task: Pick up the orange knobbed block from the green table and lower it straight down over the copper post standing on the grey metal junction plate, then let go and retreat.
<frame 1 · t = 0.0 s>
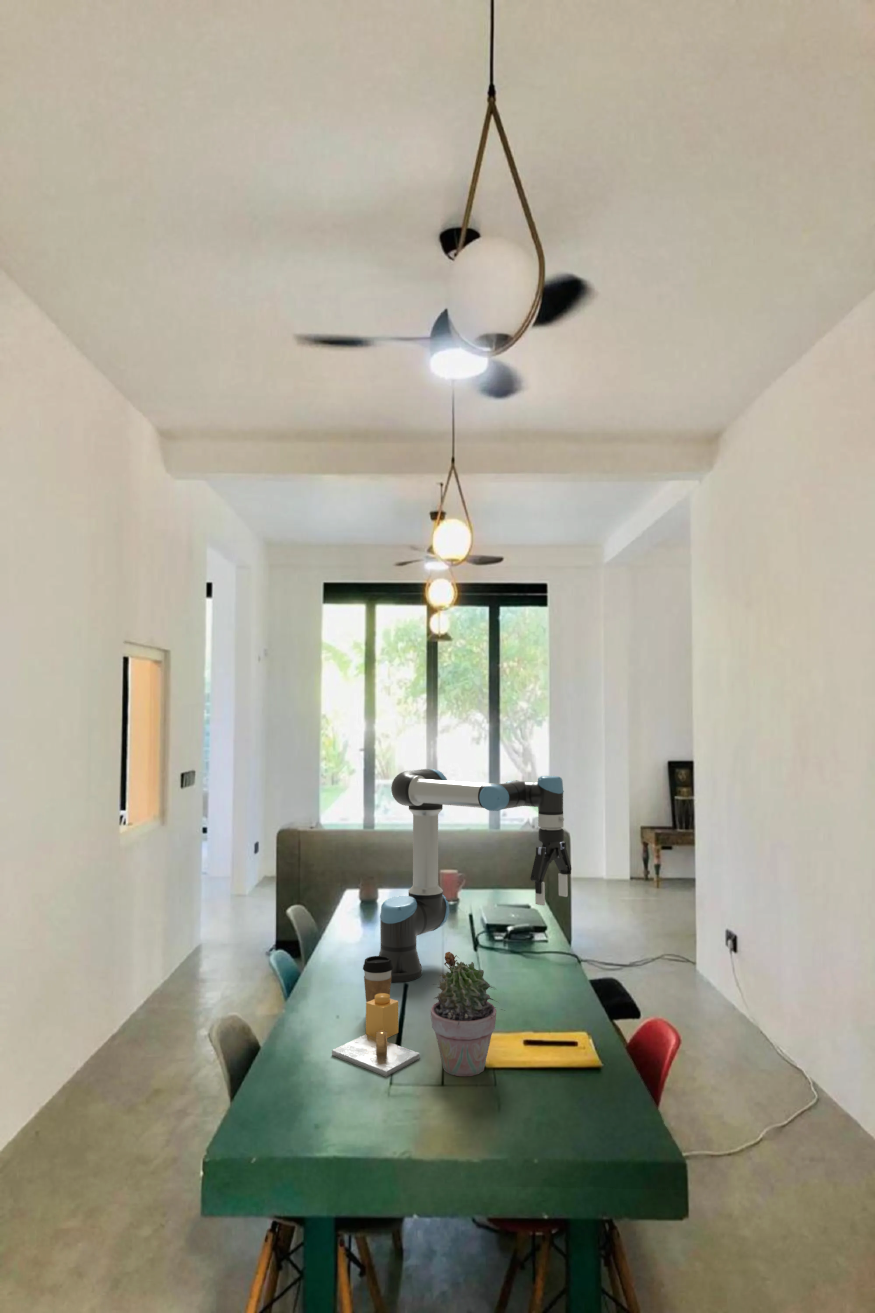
hand: (551, 900, 225), 28 cm above the table, fingers open, 13 cm apart
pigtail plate: (375, 1056, 184), on the table
orange knobbed block: (382, 1033, 197), on the table
potted plant: (467, 1069, 178), on the table
coffee cup: (377, 1014, 210), on the table
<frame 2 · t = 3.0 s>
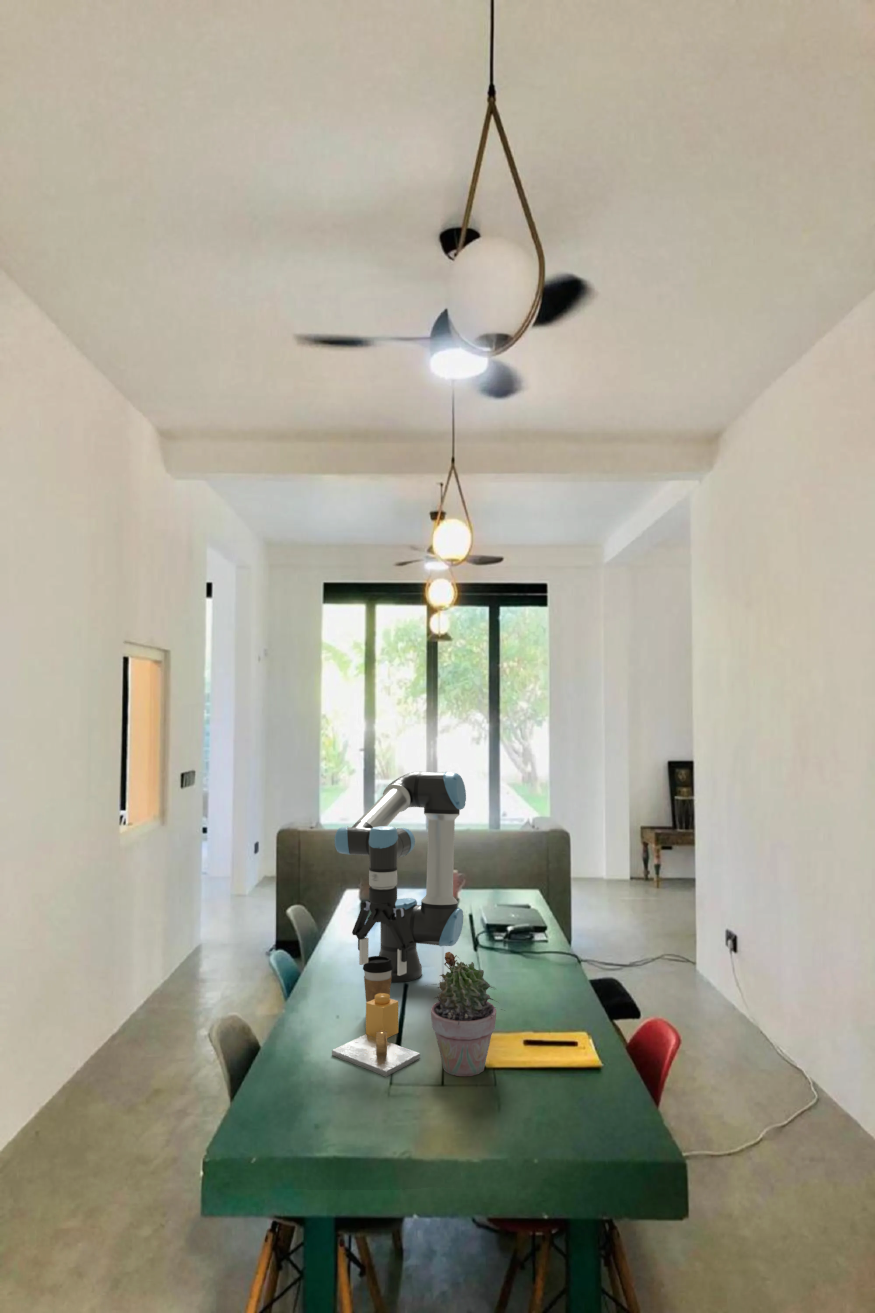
hand: (382, 969, 198), 16 cm above the table, fingers open, 13 cm apart
nothing on the table moved.
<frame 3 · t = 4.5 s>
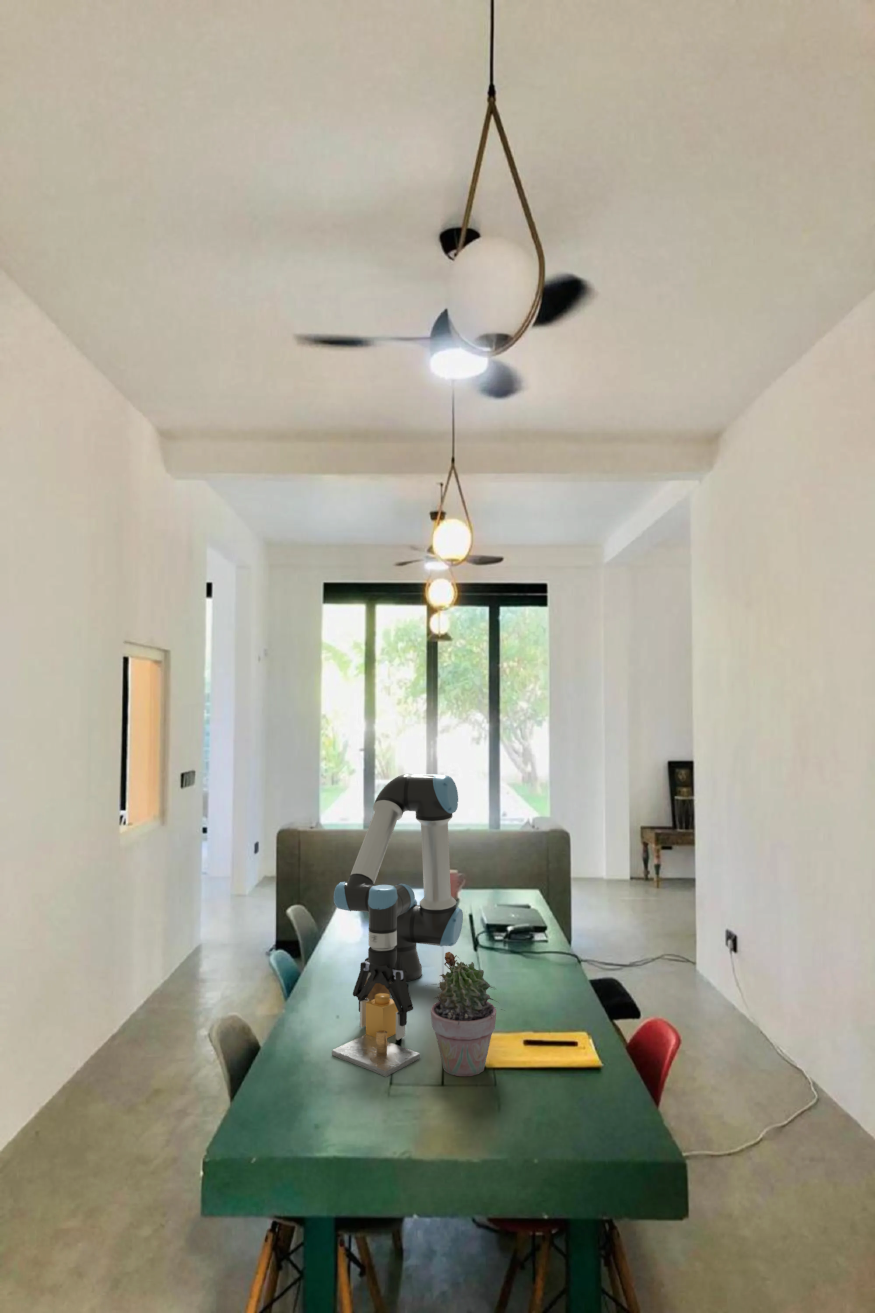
hand: (382, 1031, 197), 0 cm above the table, fingers open, 12 cm apart
nothing on the table moved.
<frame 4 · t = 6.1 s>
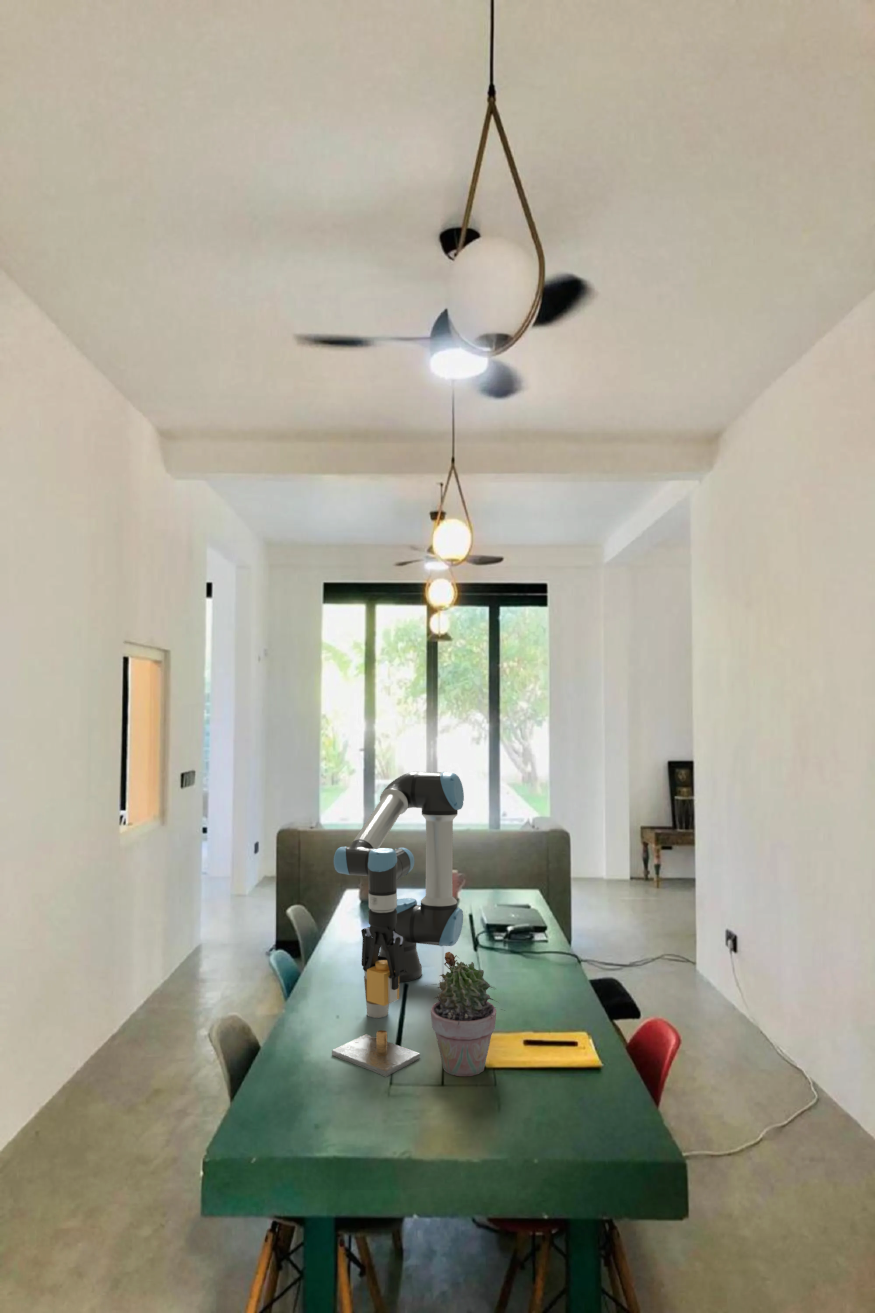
hand: (383, 998, 198), 9 cm above the table, fingers closed on orange knobbed block, 6 cm apart
orange knobbed block: (383, 999, 198), point 8 cm above the table, touching gripper
everything else where it was.
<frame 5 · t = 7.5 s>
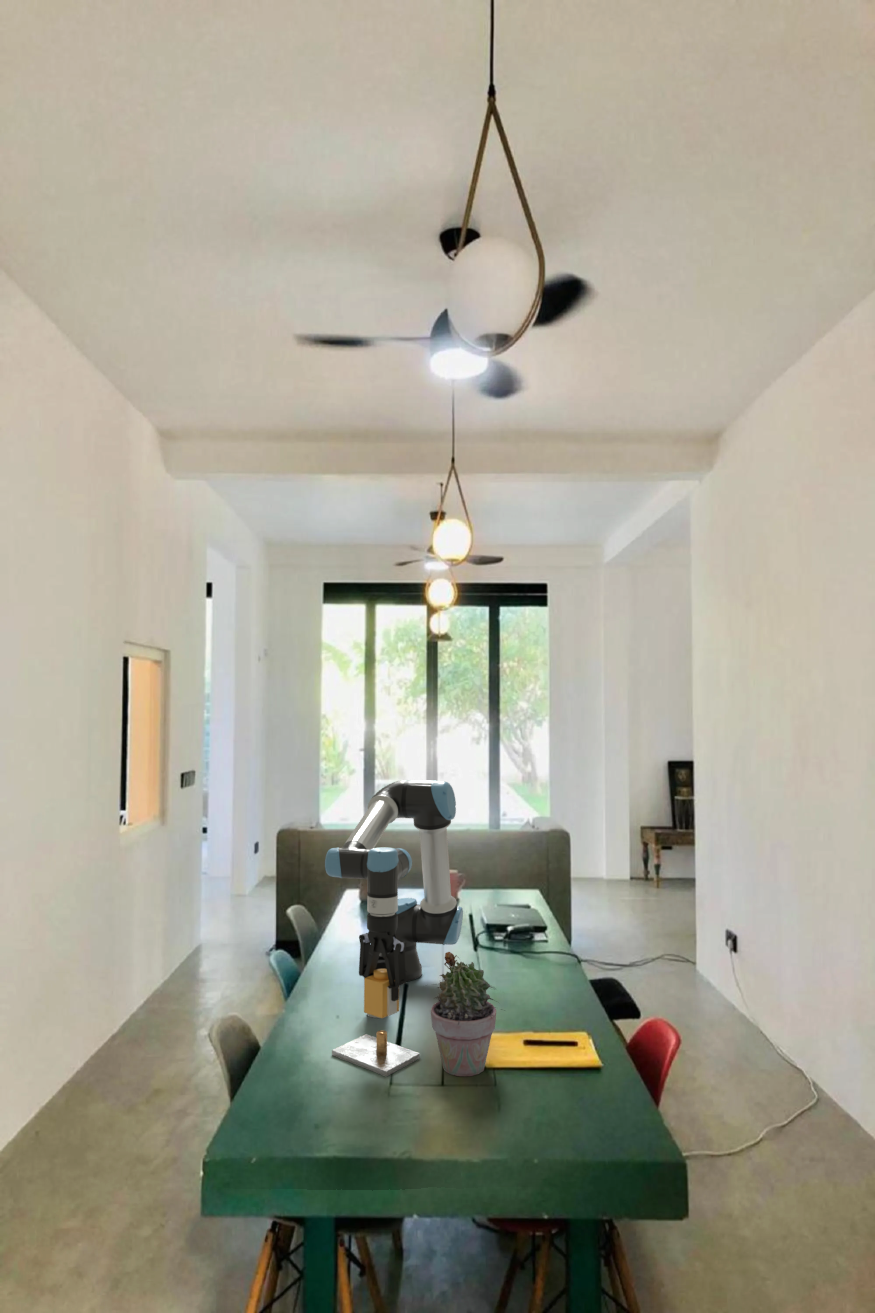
hand: (381, 1010, 183), 11 cm above the table, fingers closed on orange knobbed block, 6 cm apart
orange knobbed block: (381, 1011, 183), point 11 cm above the table, touching gripper
everything else where it was.
when the fingers open (2 cm above the table, at t = 9.2 s): orange knobbed block stays where it is, resting on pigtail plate.
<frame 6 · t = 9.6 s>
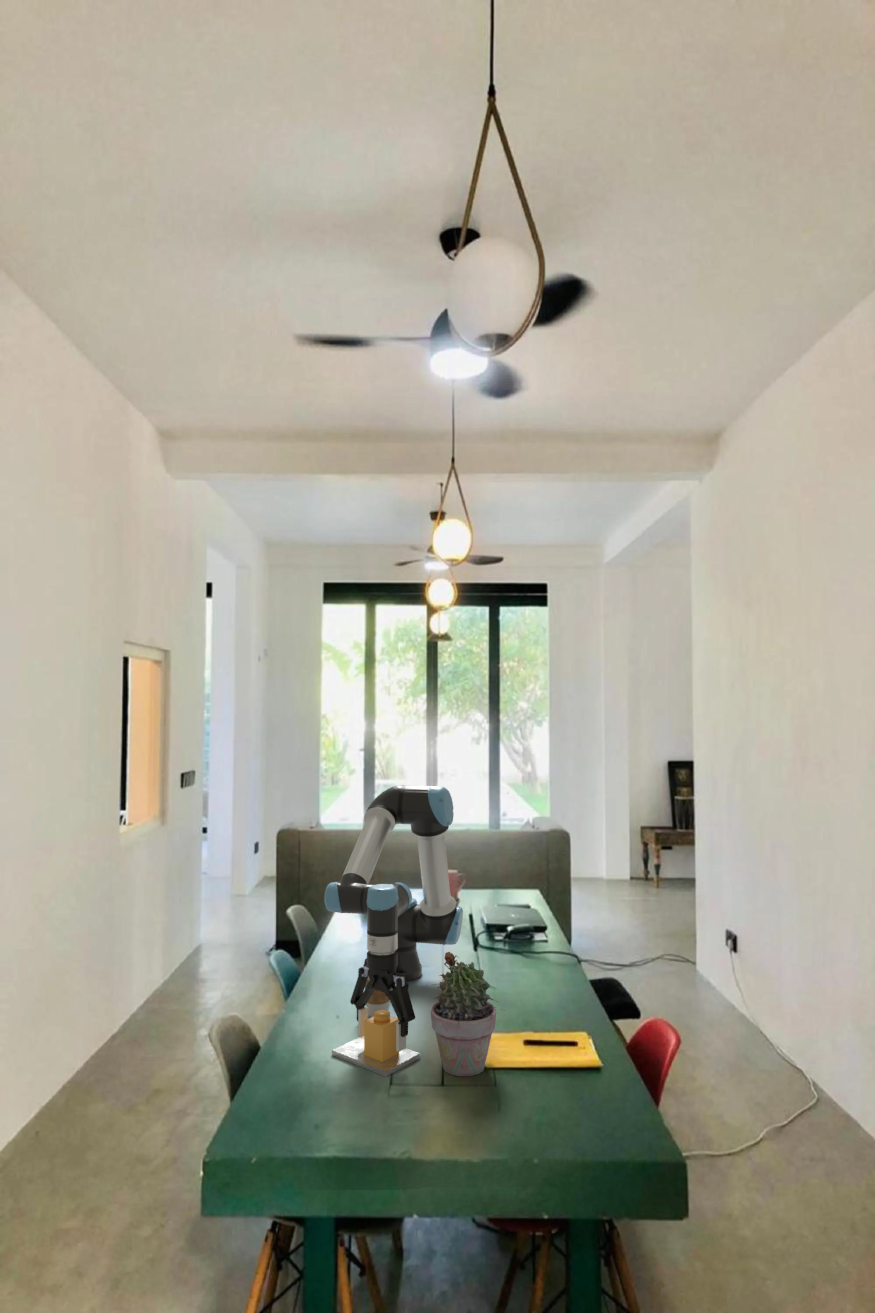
hand: (381, 1042, 183), 4 cm above the table, fingers open, 12 cm apart
orange knobbed block: (381, 1054, 182), point 1 cm above the table, touching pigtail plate
everything else where it was.
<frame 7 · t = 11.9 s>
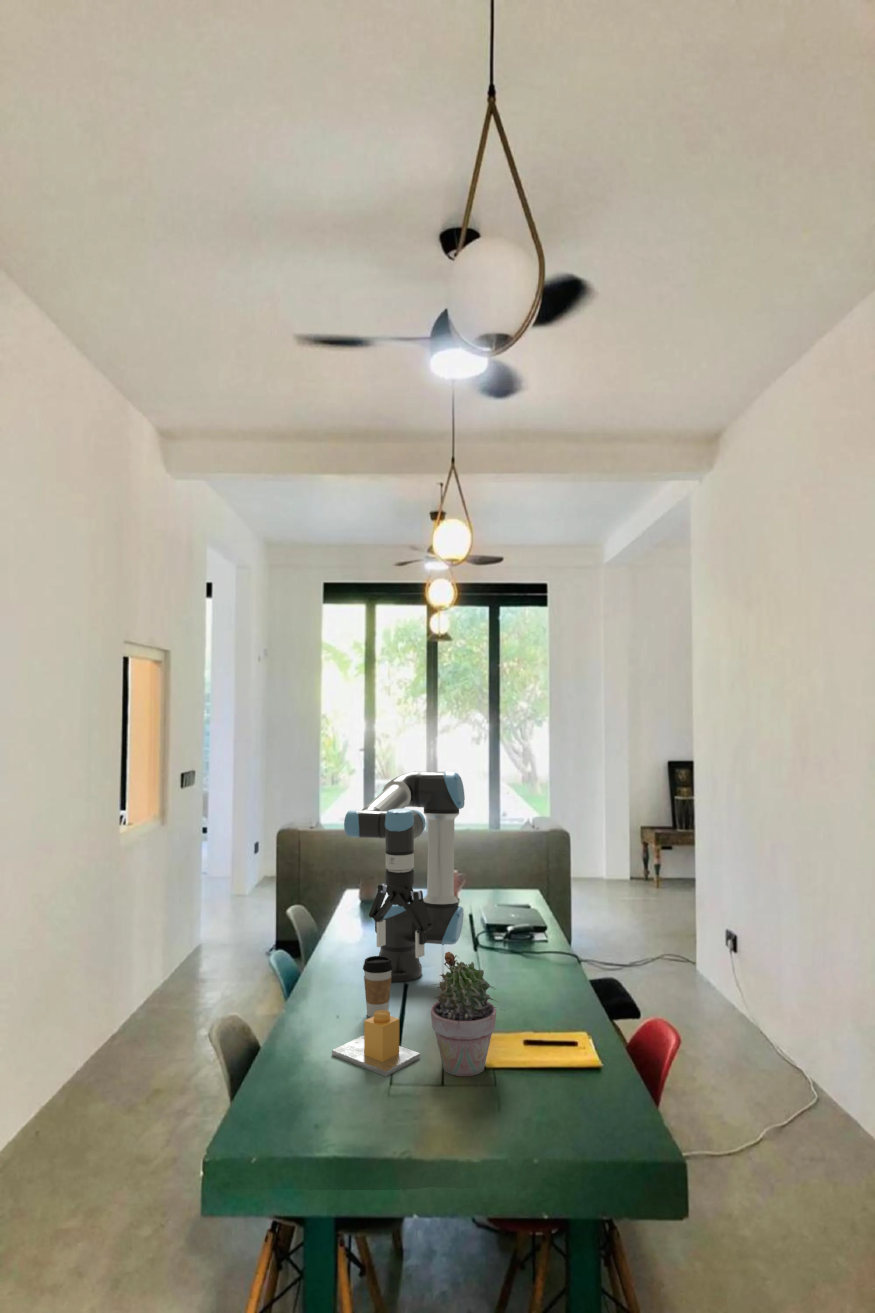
hand: (400, 951, 198), 21 cm above the table, fingers open, 13 cm apart
nothing on the table moved.
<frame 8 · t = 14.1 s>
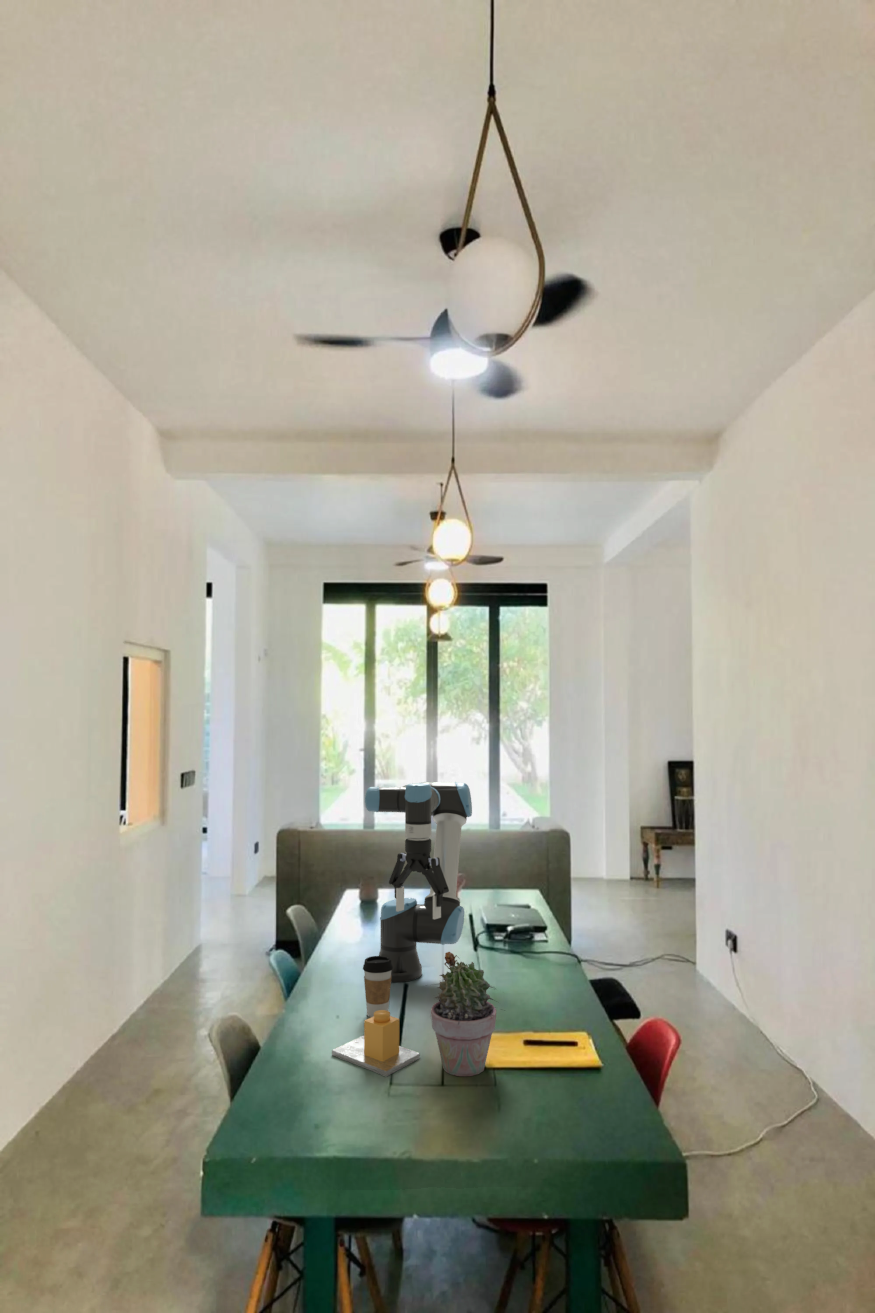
hand: (418, 914, 214), 27 cm above the table, fingers open, 13 cm apart
nothing on the table moved.
at the end: orange knobbed block 0.0 cm from the target spot on the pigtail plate, point 1.2 cm above the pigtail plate's base; orange knobbed block tilted 0°; the gripper is holding nothing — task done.
